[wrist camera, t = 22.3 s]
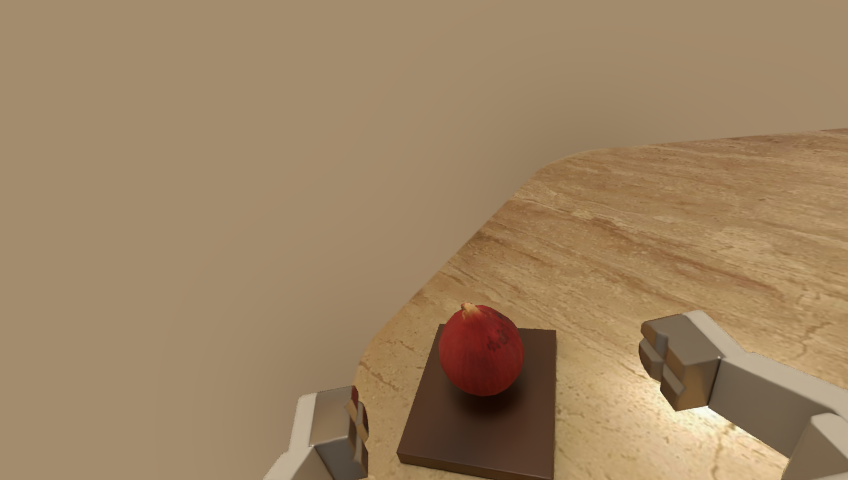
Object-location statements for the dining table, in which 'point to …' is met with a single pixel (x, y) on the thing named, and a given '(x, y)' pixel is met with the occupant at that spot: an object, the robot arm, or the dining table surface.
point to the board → (487, 419)
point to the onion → (481, 350)
